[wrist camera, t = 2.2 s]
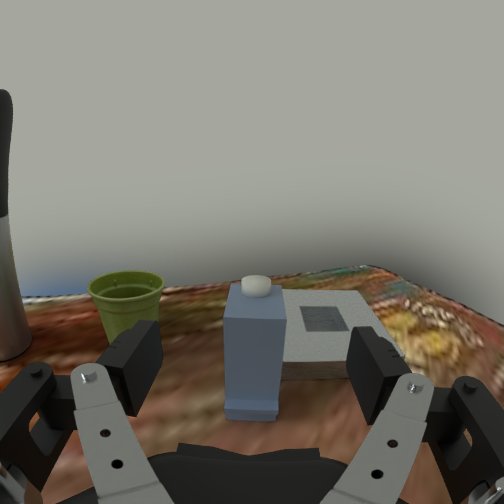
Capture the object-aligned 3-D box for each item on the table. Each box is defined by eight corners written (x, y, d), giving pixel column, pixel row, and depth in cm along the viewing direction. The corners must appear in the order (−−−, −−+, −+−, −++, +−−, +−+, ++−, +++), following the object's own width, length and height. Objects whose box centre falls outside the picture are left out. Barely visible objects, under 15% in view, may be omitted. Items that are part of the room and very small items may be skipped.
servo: (275, 431, 22) (289, 315, 19) (225, 429, 22) (221, 312, 19) (272, 365, 32) (280, 264, 28) (233, 363, 32) (233, 263, 28)
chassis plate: (399, 373, 29) (405, 355, 28) (262, 379, 29) (264, 361, 29) (354, 303, 48) (357, 290, 48) (262, 302, 49) (262, 288, 48)
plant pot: (150, 322, 40) (144, 265, 38) (184, 351, 34) (179, 286, 32) (91, 339, 34) (79, 278, 32) (115, 377, 28) (99, 306, 25)
